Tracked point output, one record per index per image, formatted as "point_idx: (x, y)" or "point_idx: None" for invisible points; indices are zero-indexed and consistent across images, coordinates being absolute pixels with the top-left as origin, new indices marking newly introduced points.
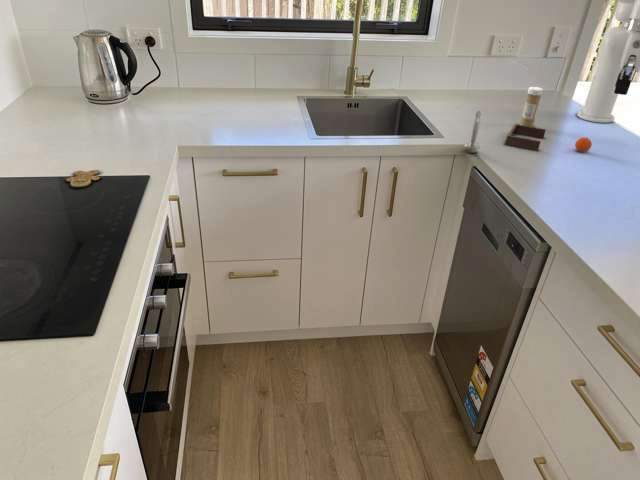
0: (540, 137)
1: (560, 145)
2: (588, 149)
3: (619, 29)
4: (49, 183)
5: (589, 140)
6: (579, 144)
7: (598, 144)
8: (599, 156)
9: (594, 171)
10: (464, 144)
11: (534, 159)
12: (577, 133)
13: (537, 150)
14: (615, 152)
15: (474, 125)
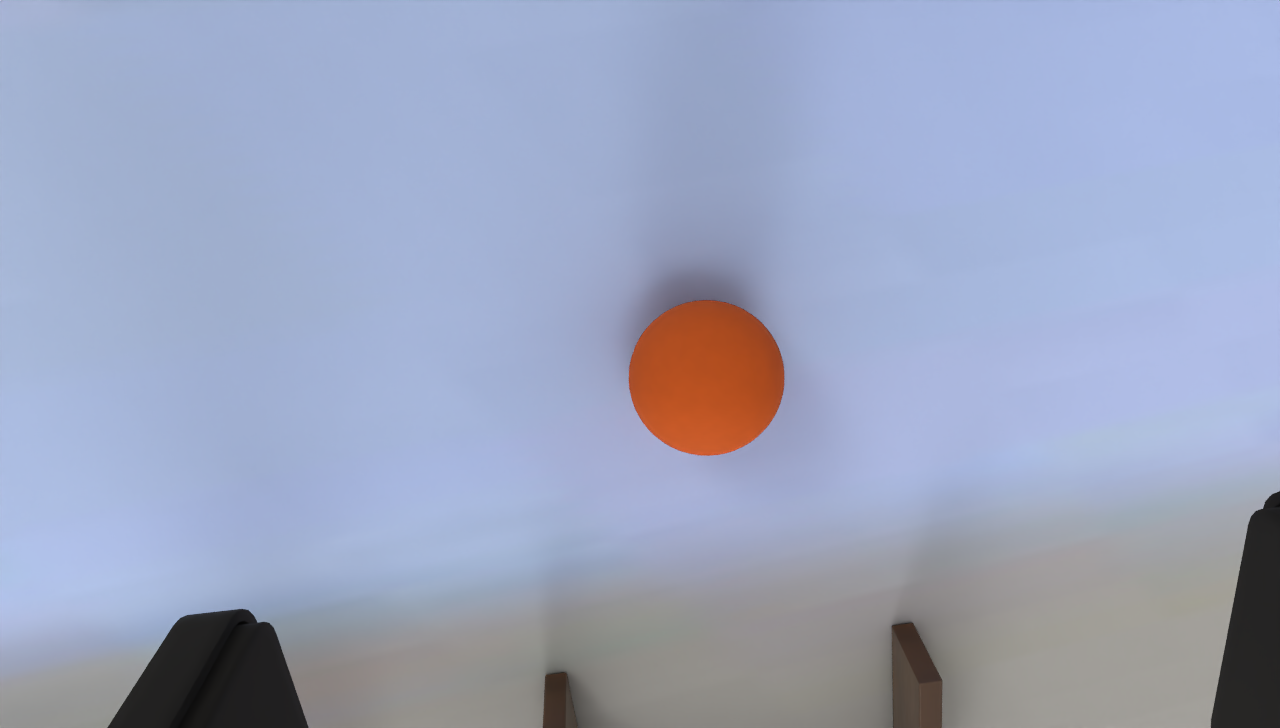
0: (569, 694)
1: (646, 525)
2: (733, 305)
3: None
4: None
5: (730, 360)
6: (777, 409)
7: (338, 253)
8: (724, 173)
9: (1185, 135)
10: None
11: (1127, 587)
12: (147, 492)
13: (914, 626)
14: (473, 50)
15: None
